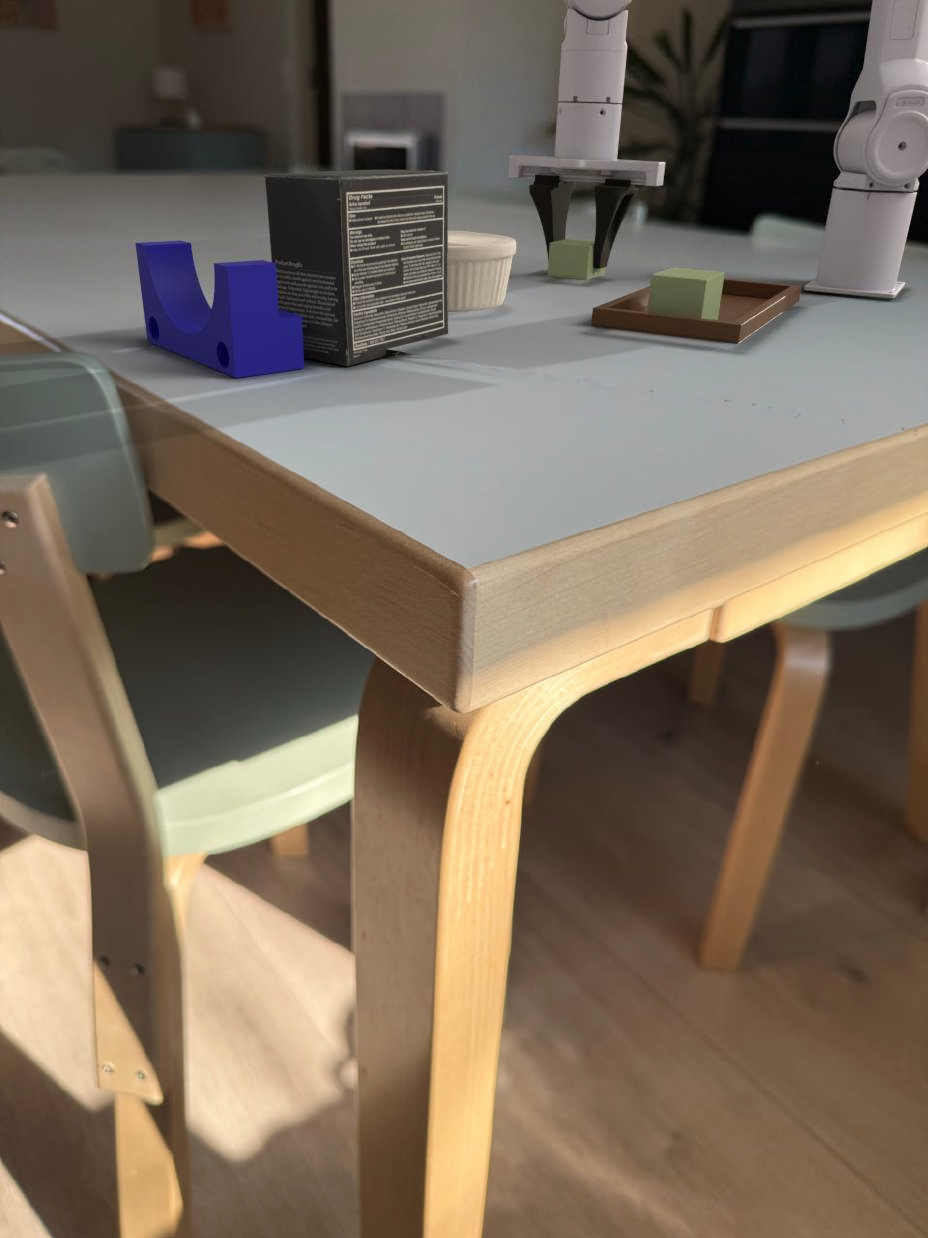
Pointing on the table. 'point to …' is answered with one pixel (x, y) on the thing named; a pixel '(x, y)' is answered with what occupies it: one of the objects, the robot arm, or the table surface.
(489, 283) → the ramekin
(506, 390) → the table surface
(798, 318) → the table surface
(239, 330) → the cable clip
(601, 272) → the olive green block
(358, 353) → the small box
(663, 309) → the green rectangular block
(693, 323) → the tray
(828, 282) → the robot arm
